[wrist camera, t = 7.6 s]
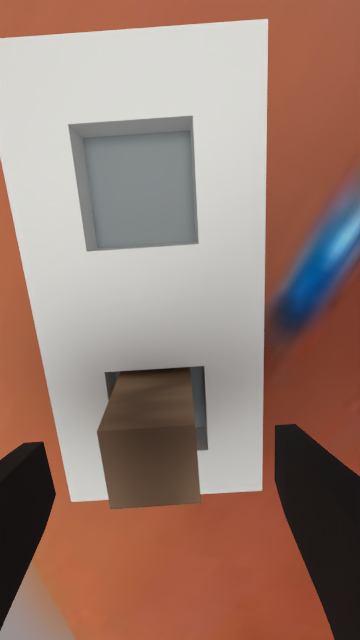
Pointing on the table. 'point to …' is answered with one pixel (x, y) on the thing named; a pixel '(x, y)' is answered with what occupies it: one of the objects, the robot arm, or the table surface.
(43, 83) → the pocket board
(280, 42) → the table surface
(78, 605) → the table surface
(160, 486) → the walnut block
